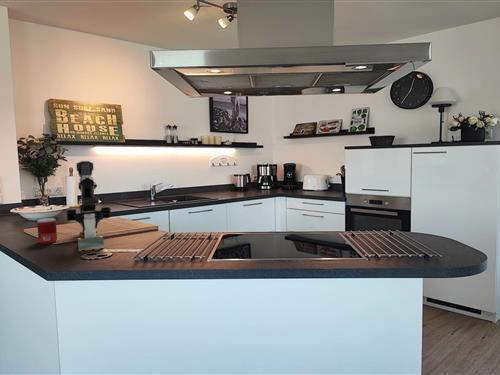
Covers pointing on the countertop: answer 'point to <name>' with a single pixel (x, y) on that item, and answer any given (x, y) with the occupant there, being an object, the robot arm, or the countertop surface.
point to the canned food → (47, 230)
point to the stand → (90, 243)
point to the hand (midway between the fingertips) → (90, 228)
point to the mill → (89, 225)
